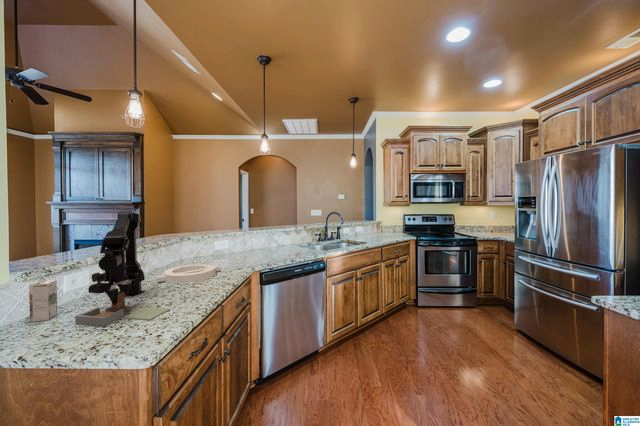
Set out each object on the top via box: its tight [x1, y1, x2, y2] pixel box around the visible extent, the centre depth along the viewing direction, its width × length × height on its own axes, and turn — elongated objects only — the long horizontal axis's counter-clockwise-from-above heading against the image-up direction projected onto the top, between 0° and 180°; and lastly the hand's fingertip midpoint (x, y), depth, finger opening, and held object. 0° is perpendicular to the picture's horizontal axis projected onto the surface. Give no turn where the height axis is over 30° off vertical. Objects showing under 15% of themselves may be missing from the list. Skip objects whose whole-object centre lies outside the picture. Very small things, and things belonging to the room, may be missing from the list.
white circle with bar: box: [155, 263, 222, 284], centre depth 161 cm, size 28×28×5 cm
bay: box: [74, 307, 125, 327], centre depth 101 cm, size 8×12×3 cm, turn 79°
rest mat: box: [122, 306, 170, 321], centre depth 107 cm, size 10×12×1 cm
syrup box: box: [28, 279, 58, 323], centre depth 104 cm, size 6×6×14 cm
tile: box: [96, 310, 114, 317], centre depth 103 cm, size 6×6×2 cm
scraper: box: [105, 291, 132, 315], centre depth 109 cm, size 4×8×8 cm, turn 80°
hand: (118, 303), depth 109 cm, fingers closed on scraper, 3 cm apart
